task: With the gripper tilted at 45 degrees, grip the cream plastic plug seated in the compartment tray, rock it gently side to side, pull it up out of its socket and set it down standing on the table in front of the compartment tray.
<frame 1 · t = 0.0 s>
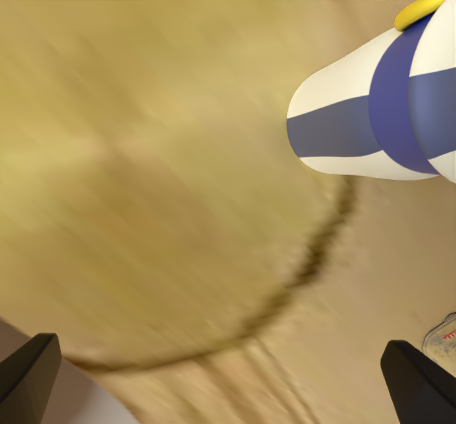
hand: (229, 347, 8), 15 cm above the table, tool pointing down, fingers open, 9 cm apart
water bottle: (333, 120, 23), on the table
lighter: (455, 328, 27), on the table
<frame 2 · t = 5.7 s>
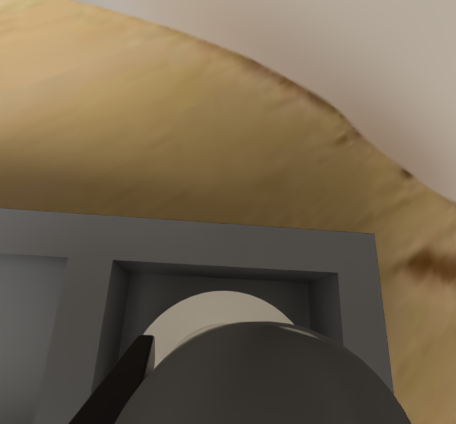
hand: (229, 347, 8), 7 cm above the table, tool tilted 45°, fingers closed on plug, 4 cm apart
plug: (216, 377, 12), point 3 cm above the table, touching gripper, compartment tray
compartment tray: (213, 368, 14), on the table
when the fingers open (6 cm above the table, at t = 12.1 s): plug drops 2 cm, on the table.
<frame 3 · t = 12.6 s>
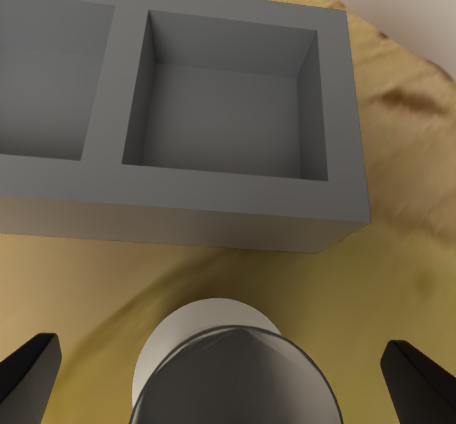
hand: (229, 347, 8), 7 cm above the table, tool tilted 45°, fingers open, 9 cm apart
plug: (212, 370, 14), on the table
compartment tray: (220, 156, 18), on the table
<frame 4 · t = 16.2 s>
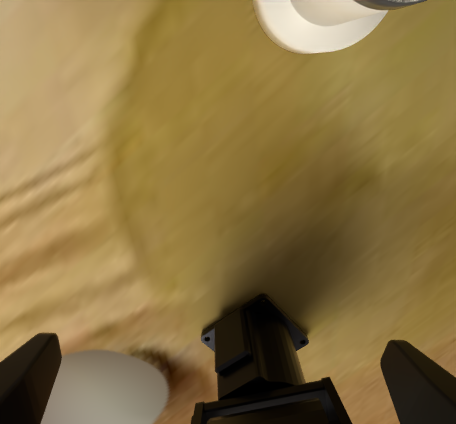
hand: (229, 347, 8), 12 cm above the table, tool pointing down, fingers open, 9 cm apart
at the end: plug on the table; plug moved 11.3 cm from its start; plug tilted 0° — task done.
